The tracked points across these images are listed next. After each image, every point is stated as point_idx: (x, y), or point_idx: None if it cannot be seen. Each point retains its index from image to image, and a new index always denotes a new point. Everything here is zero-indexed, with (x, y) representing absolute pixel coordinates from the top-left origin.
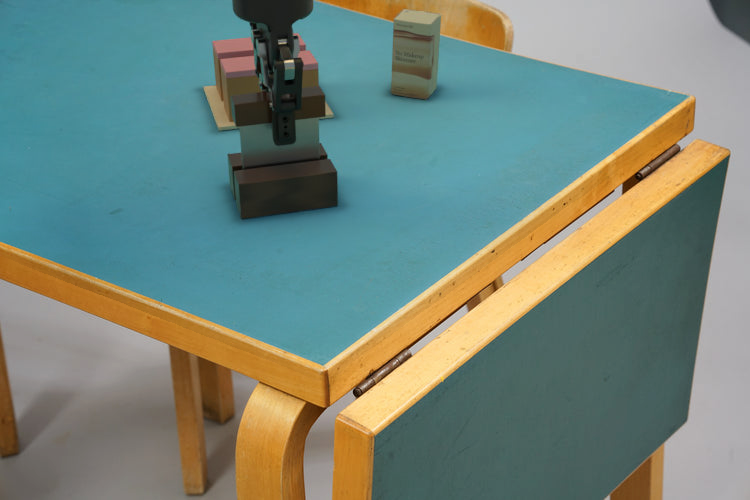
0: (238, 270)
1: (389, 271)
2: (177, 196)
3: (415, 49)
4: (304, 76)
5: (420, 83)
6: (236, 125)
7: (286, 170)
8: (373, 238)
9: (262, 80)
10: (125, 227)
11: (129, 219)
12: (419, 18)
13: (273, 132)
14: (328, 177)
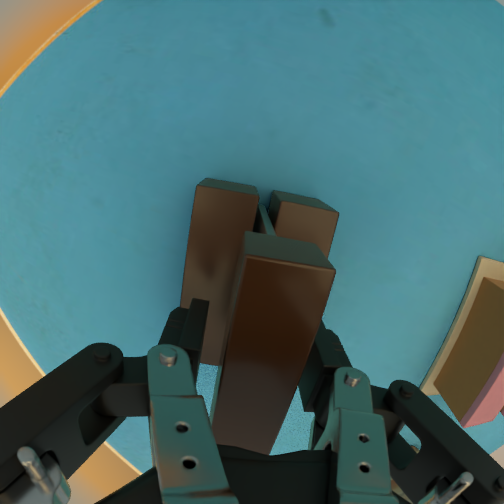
0: (75, 132)
1: (31, 302)
2: (334, 110)
3: (406, 499)
4: (465, 402)
5: None
6: (244, 233)
7: (212, 290)
8: (93, 323)
9: (203, 405)
10: (269, 12)
11: (292, 23)
12: None
13: (188, 311)
14: None
